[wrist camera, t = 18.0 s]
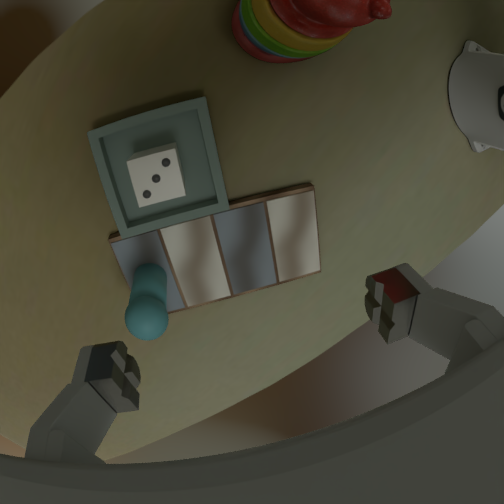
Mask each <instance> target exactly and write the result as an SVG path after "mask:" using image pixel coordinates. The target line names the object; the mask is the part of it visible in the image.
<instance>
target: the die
mask: <svg viewBox="0 0 504 504" xmlns="http://www.w3.org/2000/svg"><path fill="white" fill-rule="evenodd" d="M126 162H127V166H128V170H129V174H130V177H131V181H132V184H133V188H134V191H135V195H136V198H137V202H138V205H139V208H140V207H143V206H147V205H151V204H155V203H158V202H162V201H166V200H170V199H174V198H178V197H182V196H186V187H185V179H184V175H183V171H182V166H181V162H180V158H179V153H178V149H177V144H176V142H174V143H170V144H166V145H162V146H158V147H154V148H151V149H147V150H143V151H140V152H136V153H134V154H133V155H132V156H131V157H130V158H129V159H128V160H127V161H126Z"/></svg>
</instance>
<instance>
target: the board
mask: <svg viewBox="0 0 504 504" xmlns="http://www.w3.org/2000/svg"><path fill="white" fill-rule="evenodd" d="M228 203H229V208H230V210H227V211H223V212H219V213H215V214H211V215H207V216H204V217H200V218H196V219H192V220H189V221H185V222H181V223H178V224H174V225H170V226H167V227H163V228H160V229H156V230H153V231H149V232H146V233H142V234H139V235H135V236H132V237H129V238H125V239H122V238H121V235H120V233H119V232H118V233H115V234H112V235H110V236H109V239H108V241H109V243H110V246H111V248H112V250H113V253H114V255H115V257H116V260H117V262H118V264H119V267H120V269H121V271H122V274H123V276H124V278H125V280H126V282H127V285H128V287H129V289H130V291H131V289H132V283H133V278H134V274H135V271H136V269H137V268H138V267H139V266H141V265H142V264H146V263H154V264H157V265H159V266H161V267H162V268H163V269H164V270H165V272H166V274H167V313H168V314H170V313H174V312H178V311H182V310H186V309H190V308H194V307H198V306H202V305H205V304H209V303H213V302H217V301H221V300H224V299H228V298H232V297H235V296H239V295H243V294H246V293H250V292H254V291H257V290H261V289H264V288H268V287H272V286H275V285H279V284H282V283H286V282H289V281H292V280H296V279H299V278H303V277H306V276H310V275H313V274H316V273H320V272H321V262H320V247H319V234H318V222H317V210H316V200H315V190H314V185H312V184H311V183H307V184H303V185H298V186H294V187H289V188H285V189H280V190H276V191H271V192H267V193H263V194H259V195H255V196H250V197H246V198H242V199H238V200H234V201H230V202H228Z"/></svg>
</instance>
